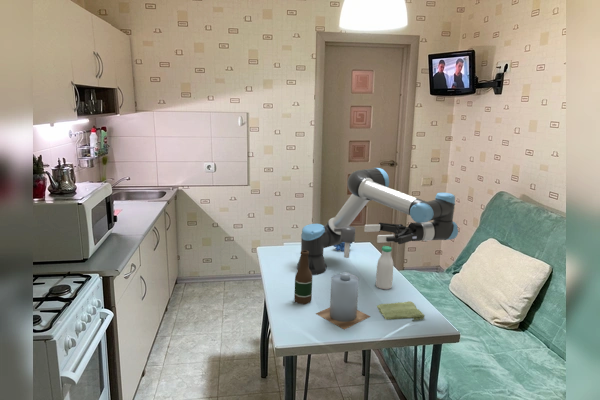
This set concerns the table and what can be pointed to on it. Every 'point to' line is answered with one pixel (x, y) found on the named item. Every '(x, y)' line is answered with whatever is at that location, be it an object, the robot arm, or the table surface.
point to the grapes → (340, 246)
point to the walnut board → (343, 325)
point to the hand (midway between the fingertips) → (370, 233)
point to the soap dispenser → (344, 297)
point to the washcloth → (400, 311)
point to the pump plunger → (346, 237)
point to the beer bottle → (303, 281)
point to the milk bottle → (385, 269)
